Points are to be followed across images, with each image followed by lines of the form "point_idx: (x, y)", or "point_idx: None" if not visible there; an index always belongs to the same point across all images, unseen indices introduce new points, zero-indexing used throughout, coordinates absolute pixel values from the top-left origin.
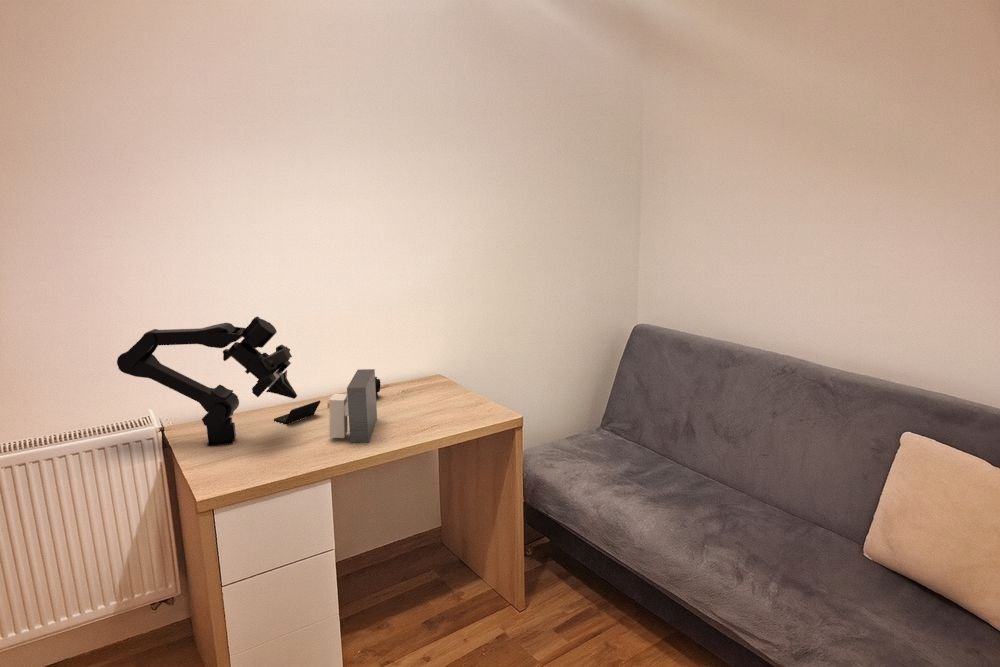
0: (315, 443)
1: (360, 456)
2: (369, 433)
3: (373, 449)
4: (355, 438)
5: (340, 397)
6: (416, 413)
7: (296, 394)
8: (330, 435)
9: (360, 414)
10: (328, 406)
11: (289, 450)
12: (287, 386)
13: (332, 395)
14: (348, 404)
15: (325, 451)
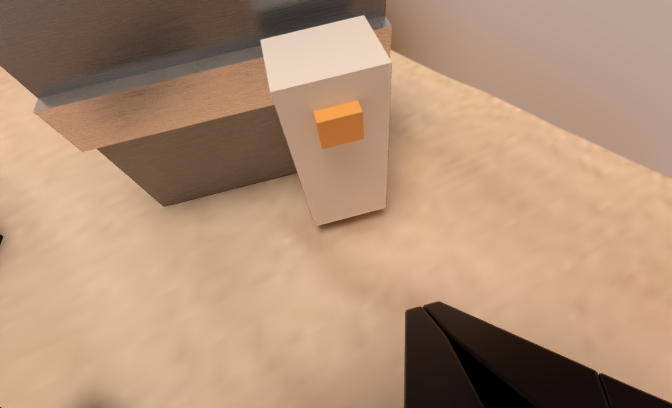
0: (413, 262)
1: (462, 92)
2: None
3: (404, 84)
4: None
5: (323, 41)
6: None
7: (418, 310)
8: (384, 200)
9: None
10: (361, 126)
11: (524, 337)
12: (610, 399)
13: (297, 84)
14: (385, 7)
15: (469, 193)
